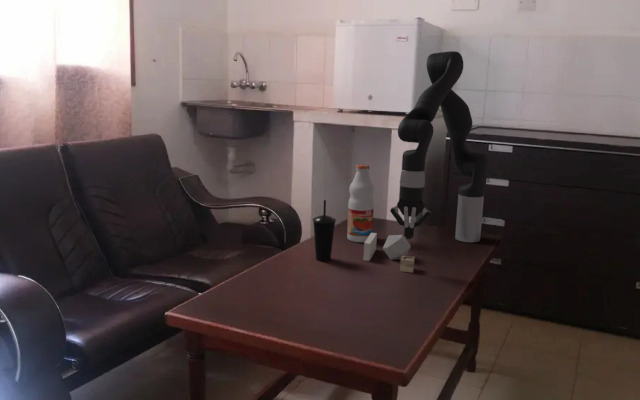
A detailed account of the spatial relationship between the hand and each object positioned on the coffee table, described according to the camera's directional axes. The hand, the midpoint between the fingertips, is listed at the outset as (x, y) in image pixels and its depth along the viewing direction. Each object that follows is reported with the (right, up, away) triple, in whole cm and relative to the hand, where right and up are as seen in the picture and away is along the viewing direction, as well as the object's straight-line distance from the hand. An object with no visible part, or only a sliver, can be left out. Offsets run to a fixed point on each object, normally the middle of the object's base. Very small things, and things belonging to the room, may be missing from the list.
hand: (408, 238), depth 193 cm
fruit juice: (-13, -3, +36) cm, 38 cm away
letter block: (0, -10, +2) cm, 11 cm away
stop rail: (-11, -7, +17) cm, 21 cm away
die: (-2, -8, +14) cm, 16 cm away
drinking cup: (-27, -8, +11) cm, 30 cm away
